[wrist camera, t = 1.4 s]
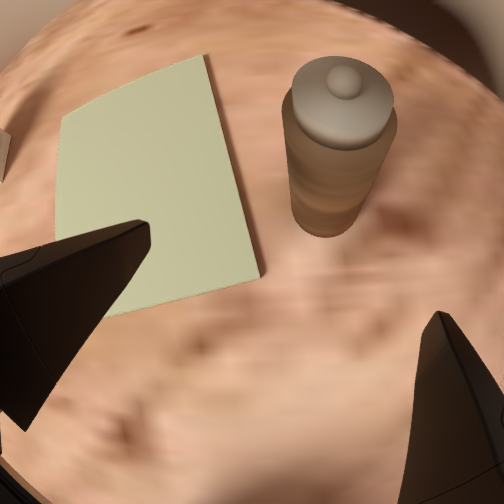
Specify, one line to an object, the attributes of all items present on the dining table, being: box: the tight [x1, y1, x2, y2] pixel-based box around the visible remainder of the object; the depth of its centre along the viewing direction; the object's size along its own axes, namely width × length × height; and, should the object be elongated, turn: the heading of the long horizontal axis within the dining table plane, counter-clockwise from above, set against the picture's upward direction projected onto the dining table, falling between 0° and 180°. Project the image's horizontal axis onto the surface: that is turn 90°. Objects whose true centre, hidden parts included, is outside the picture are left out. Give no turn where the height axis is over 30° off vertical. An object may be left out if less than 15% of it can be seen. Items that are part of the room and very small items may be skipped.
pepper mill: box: [282, 56, 397, 238], centre depth 16 cm, size 5×5×14 cm
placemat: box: [55, 54, 261, 319], centre depth 26 cm, size 24×18×1 cm
